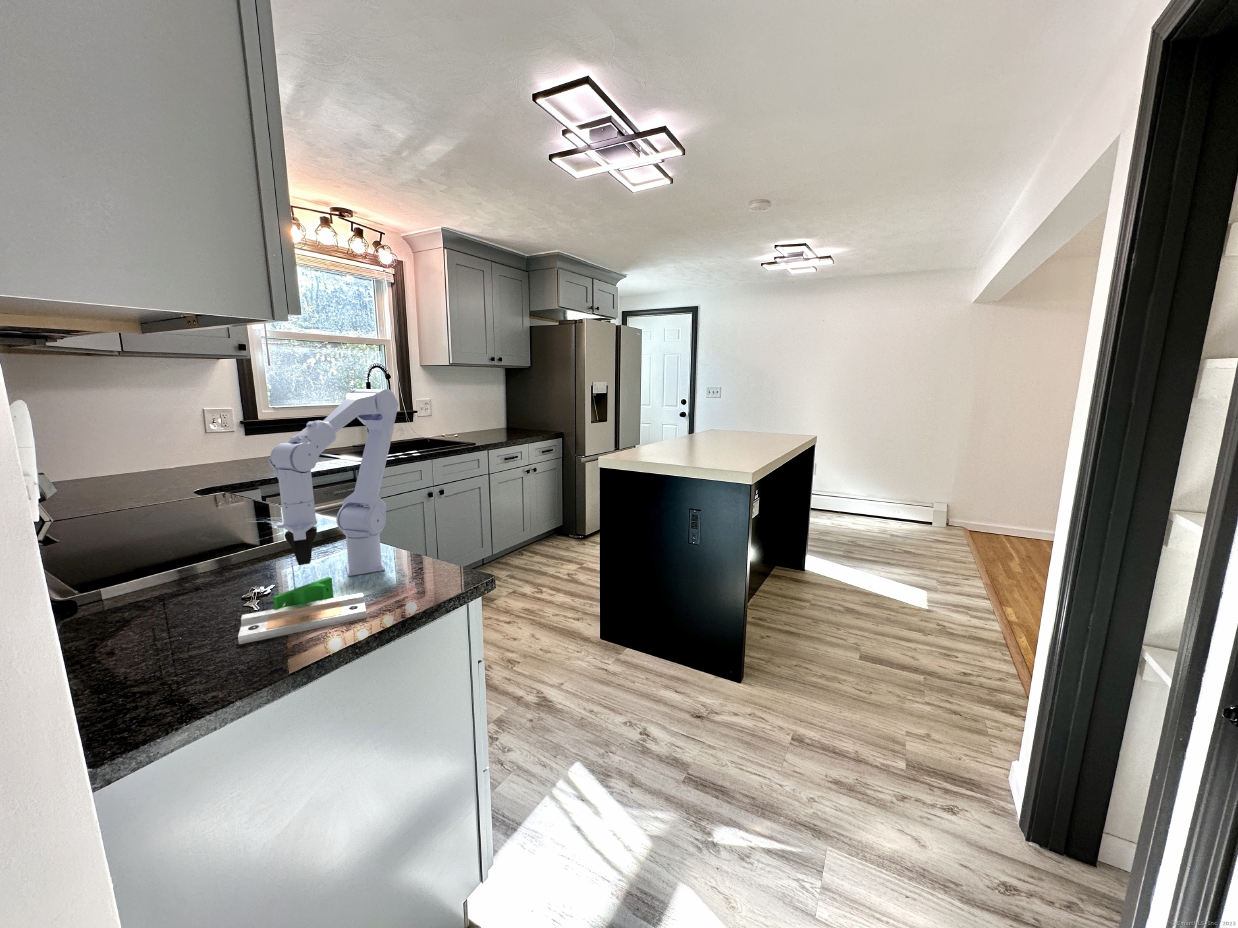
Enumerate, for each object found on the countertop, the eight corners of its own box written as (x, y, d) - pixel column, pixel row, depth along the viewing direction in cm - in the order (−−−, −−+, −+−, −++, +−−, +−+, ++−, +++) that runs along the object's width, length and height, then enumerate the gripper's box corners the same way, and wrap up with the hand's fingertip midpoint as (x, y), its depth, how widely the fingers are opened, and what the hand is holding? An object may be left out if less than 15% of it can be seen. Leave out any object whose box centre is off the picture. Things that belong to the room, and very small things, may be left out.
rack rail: (243, 627, 94) (242, 614, 93) (363, 603, 104) (362, 592, 103) (239, 644, 88) (237, 631, 87) (366, 617, 98) (365, 605, 97)
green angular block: (286, 622, 96) (284, 600, 95) (275, 618, 98) (272, 596, 97) (341, 600, 106) (339, 579, 105) (330, 596, 108) (328, 576, 107)
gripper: (276, 495, 108) (283, 556, 110) (271, 511, 95) (279, 579, 98) (315, 492, 111) (320, 550, 114) (315, 506, 99) (321, 572, 101)
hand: (304, 563), depth 106 cm, fingers closed
